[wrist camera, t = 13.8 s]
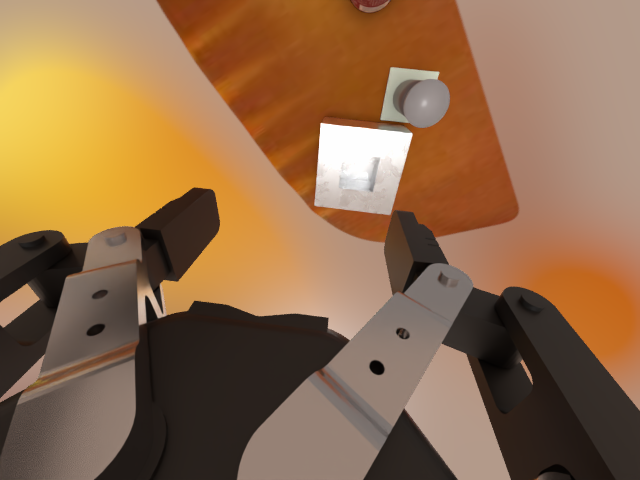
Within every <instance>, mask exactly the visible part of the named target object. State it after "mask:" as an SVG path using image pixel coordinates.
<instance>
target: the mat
mask: <svg viewBox="0 0 640 480" xmlns="http://www.w3.org/2000/svg"><path fill="white" fill-rule="evenodd" d="M438 75H439V72H433V71H423V70H414V69H404V68H394V67H390V72H389V77H388V82H387V87H386V92H385V97H384V102H383V107H382V112H381V117H380V120H387V121H396V122H405V123H409V122H408V121H407V119H406V117H405V116H403V115H402V114H401V113H400V112H398V111H397V110H396V109H395V107H394V104H393V95H394V92H395V90H396V88H397V87H398V86H399V85H400V84H401V83H402V82H404V81H406V80H410V79H413V80H426V79H436V80H437V79H438Z"/></svg>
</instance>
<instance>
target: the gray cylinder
mask: <svg viewBox="0 0 640 480" xmlns="http://www.w3.org/2000/svg"><path fill="white" fill-rule="evenodd" d="M449 102H450V94H449V91H448V88H447V87H446V85H445V84H444V83H443V82H441V81H439V80H436V79H426V80H413V79H410V80H406V81H404V82H402V83H401V84H400V85H399V86H398V87H397V88H396V90H395V92H394V95H393V104H394V107H395V109H396V110H397V111H398V112H400V113H401V114H402V115H403V116H405V117H406V119H407V121H408V122H409V123H410V124H412V125H413V126H415V127H419V128H425V127H429V126H432V125H434V124H435V123H437V122H438V121H439V120H440V119H441V118H442V117H443V116H444V115H445V113H446V111H447V109H448V106H449Z"/></svg>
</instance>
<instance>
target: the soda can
mask: <svg viewBox="0 0 640 480" xmlns="http://www.w3.org/2000/svg"><path fill="white" fill-rule="evenodd" d="M390 1H391V0H351V2H352V3H353V5H354V6H355V7H356V8H357V9H359V10H361V11H363V12H367V13H372V12H376V11H379V10H381V9H382V8H384V7H385V6H386V5H387V4H388V3H389V2H390Z"/></svg>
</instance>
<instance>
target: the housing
mask: <svg viewBox="0 0 640 480" xmlns="http://www.w3.org/2000/svg"><path fill="white" fill-rule="evenodd" d="M411 138H412V133H411V132H410V131H409V130H408V129H407V128H406V127H405V126H404V125H397V124H388V123H379V122H369V121H360V120H351V119H342V118H333V117H325V118H324V120H323V121H322V123H321V131H320V144H319V156H318V169H317V181H316V194H315V206H321V207H329V208H337V209H345V210H354V211H362V212H370V213H378V214H386V215H390V214H391V211H392V207H393V203H394V200H395V196H396V192H397V189H398V185H399V181H400V178H401V174H402V171H403V167H404V163H405V160H406V156H407V152H408V149H409V145H410V141H411Z"/></svg>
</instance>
